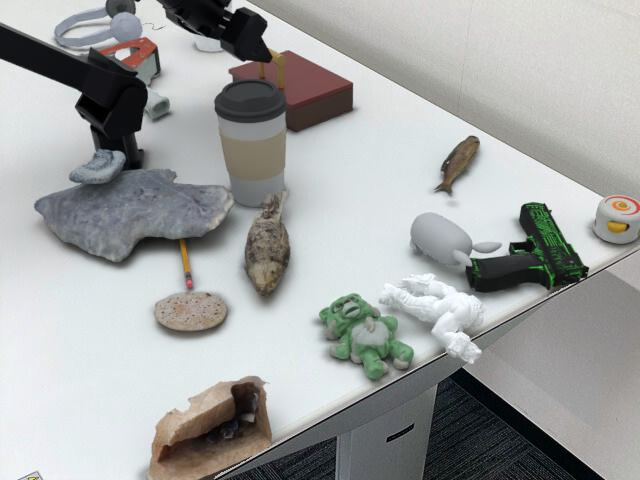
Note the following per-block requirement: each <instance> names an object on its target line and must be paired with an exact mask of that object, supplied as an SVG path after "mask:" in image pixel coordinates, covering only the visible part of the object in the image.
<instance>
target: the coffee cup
mask: <svg viewBox="0 0 640 480" xmlns="http://www.w3.org/2000/svg"><path fill="white" fill-rule="evenodd" d="M213 105H214V107H213V109H214V113H215V114H216V116H217V122H218V125H217V126H218V134H219V139H220V143H221V148H222V149H221V150H222V154H223V158H224V163H225V167H226V168H225V169H226V171H227V173H228V179H229V183H230V187H231V193H232V194H233V197H234V201H235V202H236V203H238V204H240V205H242V206H245V207H250V208H260V207H261V208H263V206H262V205H261V206H259V205H260V204H261V203H265V196H266V194H267V193H270V194H272V195H273V196H275V195H276V194H277V193H278V191H279V190H280V189H282V190H283V191H285V169H286V157H287V155H286V153H287V152H286V151H287V149H286V148H287V127H286V121H285V111H286V109H287V102H286V96H285V94H284V93H283V92H282V91H281V90H279V89H277V87H276V86H275V85H274V84H273V83H271V82H269V81H266V80H261V79H244V80H238V81H234V82H233V81H232V82H230V83H228V84H226V85H225V86H224V87H222V90H221V91H220V92H218V93H217V95H216V96H215V97H214V100H213ZM274 194H275V195H274ZM258 206H259V207H258Z"/></svg>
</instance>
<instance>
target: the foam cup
mask: <svg viewBox="0 0 640 480" xmlns="http://www.w3.org/2000/svg"><path fill="white" fill-rule="evenodd" d="M224 9H226V10H228V11H230V12H232V13H233V0H231V2H230V4H229V6H228V7H225V8H224ZM223 18H224V17H223ZM225 19H226V18H225ZM227 20H228V19H227ZM229 21H230V20H229ZM192 35H193V39H194V42H195V45H196V48H197V49H198V50H200V51H203V52H208V53H209V52H210V53H214V52H221V51H224V50H223V49H222V48H221V46H220V41H219V40H215V39H211V38H207V37H204V36H200V35H196V34H193V33H192Z"/></svg>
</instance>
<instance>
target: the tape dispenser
mask: <svg viewBox="0 0 640 480" xmlns="http://www.w3.org/2000/svg"><path fill="white" fill-rule="evenodd" d="M127 48H128V49H129V56H126V57H124V58H123V59H119V60H120V61H122V62H123V63H125V64H126V65H128V66H129V67H131V68H132V69H134V70H136V71H137V72H138V75H136V77H138V78H139V79H141V80H142V81H143V82H144V83H145V84H146V87H147V90H148V101H147V104H146V106H145V108H144V110H146V111H147V112H148V114H149V117H150V118H152V119H157V118H159V117H161V116H164V114H165V115H166V113H168V112H169V110H170V108H171V101H170V99H169V98H168V97H167V96H162V95H160V94H159V93H158V92H157V91H155V90H153V89H152V88H151V87H149V86H150V84H151V82H152V81H151V79H153V78H157V77H159V76H160V74H161V71H162V68H161V61H160V53H159V48H158V45H157V44H156V43H155V42H153V41H152V40H151V39H149V37H147V36H142V37H140V38H139V39H134V40H130V41H128V42H125V43H117V44H116V45H111V46H109V47H106V48H103V49H99V50H98V51H99V52H100V53H102V54H103V55H105V56H114V57H116V53H117V52H118V51H121V50H124V49H127ZM88 54H89V52H87V53H83V52H80V53H78V54H77V56H88Z"/></svg>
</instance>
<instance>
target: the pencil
mask: <svg viewBox="0 0 640 480" xmlns="http://www.w3.org/2000/svg"><path fill="white" fill-rule="evenodd" d="M179 244H180V251H181V256H182V262H183V268H184V277H185V282H186V286H187V287H188V288H193V278H192V273H191V270H190V263H189V258H188V252H187V247H186V246H187V245H186V240H185V238H179Z"/></svg>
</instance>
